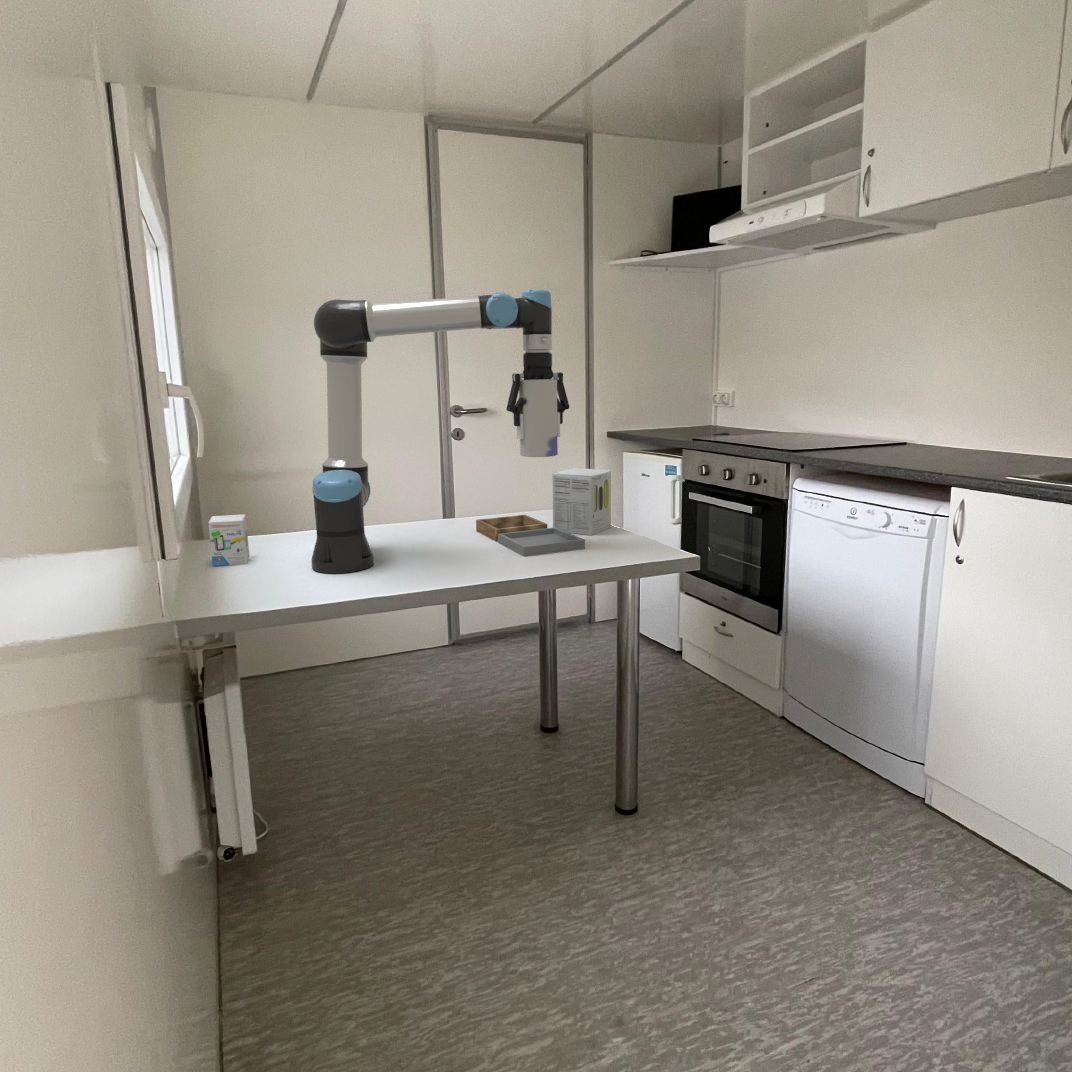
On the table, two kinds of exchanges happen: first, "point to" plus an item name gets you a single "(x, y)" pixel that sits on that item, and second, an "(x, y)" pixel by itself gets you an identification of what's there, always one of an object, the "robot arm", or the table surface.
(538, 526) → the frame
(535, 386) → the container
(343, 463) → the robot arm
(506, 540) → the tray
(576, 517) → the supplement box
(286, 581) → the table surface
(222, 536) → the ink box
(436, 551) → the table surface
